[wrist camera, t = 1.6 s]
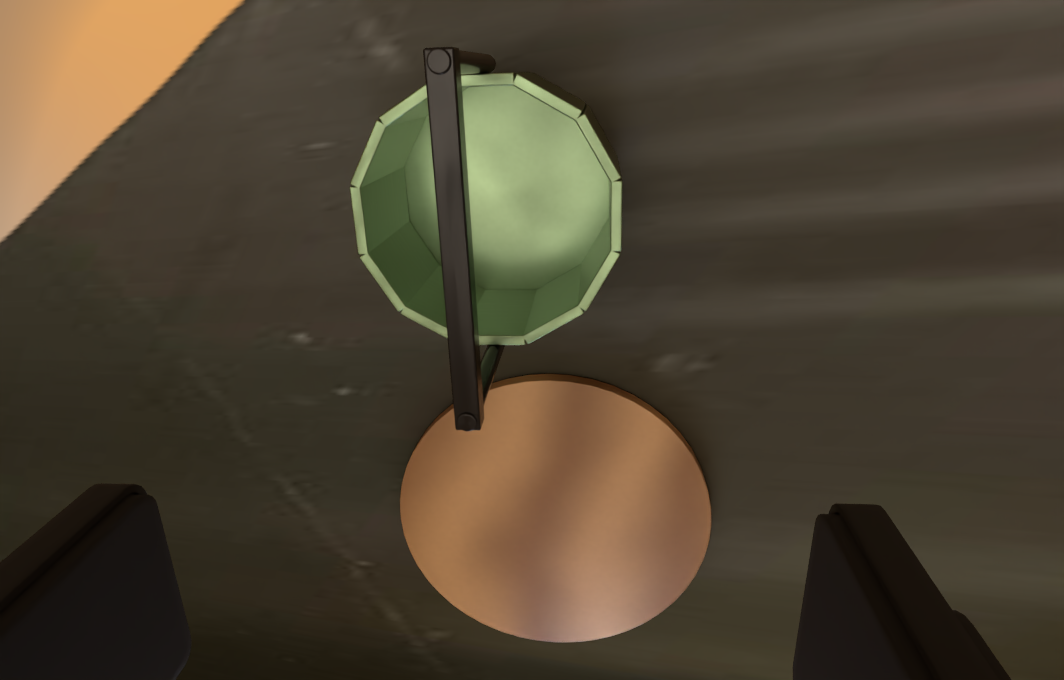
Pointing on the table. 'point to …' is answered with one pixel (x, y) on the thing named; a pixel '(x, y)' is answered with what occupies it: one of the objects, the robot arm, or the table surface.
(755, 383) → the table surface
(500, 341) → the pot
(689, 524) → the trivet
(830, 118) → the table surface
